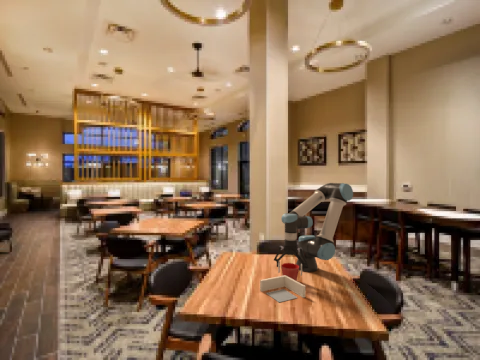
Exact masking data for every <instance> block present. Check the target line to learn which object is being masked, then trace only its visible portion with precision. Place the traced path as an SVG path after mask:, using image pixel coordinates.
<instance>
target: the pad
mask: <svg viewBox="0 0 480 360" xmlns="http://www.w3.org/2000/svg"><path fill="white" fill-rule="evenodd" d="M265 294H266V295H268V296H269V297H270V298H271V299H273V300H275V301H276V302H277V303H283V302H287V301H291V300H295V299H298V296H296V295H294V294H293V293H291V292H290V291H288V290H287V289H285V288H282V289H277V290H273V291H269V292H266V293H265Z"/></svg>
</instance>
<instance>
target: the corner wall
mask: <svg viewBox="0 0 480 360" xmlns="http://www.w3.org/2000/svg"><path fill="white" fill-rule="evenodd" d="M280 288H286V289H288V290H289V291H291V292H293V293H295V295H298V296H300V297H301V298H306V285H305V284H302V283H301V282H299V281H298V280H297V281H295V280H293V279H292V278H290V277H288V276H286V275H277V276H274V277H269V278H263V279H260V280H259V291H260V292H267V291H271V290H275V289H280Z"/></svg>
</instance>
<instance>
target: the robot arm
mask: <svg viewBox="0 0 480 360" xmlns="http://www.w3.org/2000/svg"><path fill="white" fill-rule="evenodd" d="M353 198H354V190H353V187H352V185H350V184H349V183H346V182H345V183H344V182H338V183H337V182H329V183H325V184H323V185H322V186H320V187H319V188H317V189H316V190H315V191H314V192H313V193H312V194H311V195H310V196H309V197H308V198H306V199H305V200H304V201H303V202H301V203H300V204H299V205H298V206H296V207H295V208H294V209H293V210H291V211H290V212H289V213H288V212H287V213H283V214H282V215H281V222H282V224H284V243H283V244H284V246H282V245H279V247H278V250H277V253H276V255H275V256H274V258H273V261H274V262H276V268H277V271H278V272H277V273H278V274H280V272H281V261H280V260H282V259H283V258H284V257H285V256H286V255H290V256H293V255H294V256H295V257H296V258H297V260H296V263H295V264H297V265H298V266H299V271H300V276H301V277H302V276H303V272H308V273H312V272H317V271H318V269H319V267H318V263H317V260H316V259H319V260H322V261H329V260H332V259H333V257H334V255H335V253H336V246H335V245H334V244H335V242H334V235H335V232H336V229H337V226H338V224H339V223H338V222H339V220H340V216H341V214H342V211H343V207H344V206H346V205H347V203H348V202H349V201H351V200H352V199H353ZM326 200H329V202H330V203H329V204H328V208H327V211H326V215H325V217H324V220H323V224H322V226H321V230H320V232H319V234H318V235H313V234H311V235H310V234H309V235H307V234H306V235H300V236H299V237H298V230H301V229H302V230H303V229H310V228H311V227H312V226H313V225H314V223H313V221H314V220H313V218H312V217H311V216H307V214H308V213H309V212H310V211H311V210H313V209H314V208H315V207H316V206H318V205H319V204H320V203H321V202H322V203H324V202H325V201H326ZM297 239H298V240H297ZM297 245H298V246H297ZM282 250H284V252H283V253H282V254H281V255H280V253H281V251H282ZM279 255H280V256H279ZM278 256H279V257H278Z"/></svg>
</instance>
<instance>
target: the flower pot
mask: <svg viewBox="0 0 480 360" xmlns="http://www.w3.org/2000/svg"><path fill="white" fill-rule="evenodd" d="M280 269H281V276H283V275H286V276H288V277H290V278H292V279H293V280H295V281H297V282H298V276H299V271H300V270H299V266H298V265H297V264H296V263H294V262H293V263H291V262H286V263H282V264H280Z"/></svg>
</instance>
